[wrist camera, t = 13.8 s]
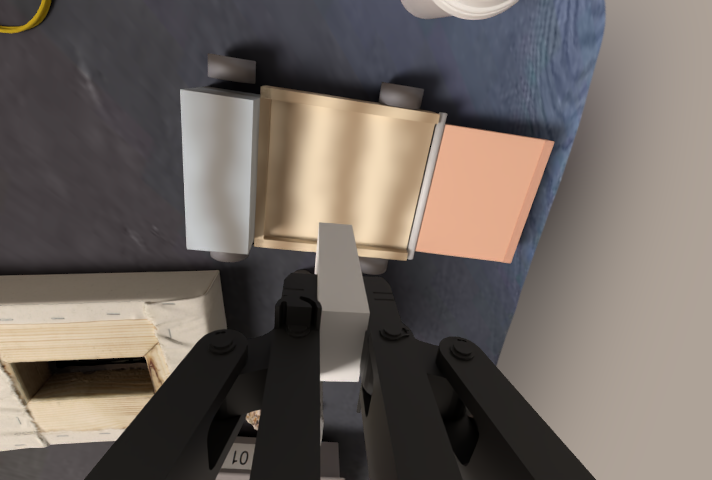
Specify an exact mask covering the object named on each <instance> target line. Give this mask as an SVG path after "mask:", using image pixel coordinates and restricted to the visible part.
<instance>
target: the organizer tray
mask: <svg viewBox="0 0 712 480" xmlns="http://www.w3.org/2000/svg"><path fill="white" fill-rule="evenodd" d="M255 443H256V438H254V437H238V436H237V437H236V439H235V441H234V443H233V445H232V447H231V449H230V451H229V453H228V455H227V457H226V459H225V461H224V463H223V465H222V467H221V469H220V471H219V473H218V475H217V477H216V479H215V480H249V479H250V473H251V467H252V461H253V455H254V449H255ZM320 480H345V478H340V470H339V450H338V443H336V442H321V447H320Z"/></svg>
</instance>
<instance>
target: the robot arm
mask: <svg viewBox="0 0 712 480" xmlns="http://www.w3.org/2000/svg"><path fill="white" fill-rule="evenodd" d="M360 373H361V380H362V383H361V388H360V394H359V400H358V406H357V413H360V410H361V411H362V420H363V428H364V437H365V445H366V454H367V462H368V471H369V479H370V480H596V479H595V478H594V477H593V476H592V475H591V473H590V472H589V471H588V470H587V469H586V468H585V467H584V465H582V463H581V462H580V461H579V460H578V459H577V458H576V456H575V455H574V454H573V453H572V452H571V451H570V450H569V449H568V447H567V446H566V445H565V444H564V443H563V442H562V441H561V439H560V438H559V437H558V436H557V435H556V434H555V433H554V432H553V430H552V429H551V428H550V427H549V426H548V425H547V424H546V422H545V421H544V420H543V419H542V418H541V417H540V416H539V415H538V413H537V412H536V411H535V410H534V409H533V408H532V407H531V406H530V404H529V403H528V402H527V401H526V400H525V399H524V398H523V396H522V395H521V394H520V393H519V392H518V391H517V390H516V389H515V387H514V386H513V385H512V384H511V383H510V382H509V381H508V379H507V378H506V377H505V376H504V375H503V374H502V373H501V371H500V370H499V369H498V368H497V367H496V366H495V365H494V364H493V362H492V361H491V360H490V359H489V358H488V357H487V356H486V354H485V353H484V352H483V351H482V350H481V349H480V348H479V347H478V346H477V345H476V344H474V343H473V342H471V341H469V340H467V339H464V338H460V337H447V338H444V339H443V340H442V341H441V342H440V344H439V346H436V345H432V344H429V343H425V342H422V341H419V340H417V339H415V338H414V336H413V333H412V332H411V330H410V329H409V328H408V327H407V326H405V325H404V324H402V322H401V319H400V315H399V312H398V309H397V306H396V303H395V301H394V297H393V295H392V290H391V287H390V285H389V284H388V283H387V282H386V281H385V280H384V279H383V278H382V277H369V276H362V272H361V267H360V262H359V257H358V252H357V247H356V242H355V237H354V232H353V227H352V225H347V224H335V223H322V222H319V228H318V240H317V251H316V263H315V274H303V273H291V274H290V275H289V276H288V277H287V278H286V279H285V280H284V286H283V292H282V298H281V299H280V300H278V302H277V303H276V305H275V328H274V329H273V330H272V331H270V332H269V333H267V334H265V335H263V336H260V337H256V338H251V339H246V337H245V336H244V335H243V334H242V333H241V332H238V331H236V330H233V329H221V330H215V331H212V332H210V333H208V334H205V335H204V336H203V337H202V338H201V339H200V340H199V341H198V342H197V343H196V344H195V345H194V347H193V348H192V349H191V350H190V351H189V353H188V354H187V355H186V356H185V358H184V359H183V360H182V361H181V362H180V364H179V365H178V366H177V367H176V369H175V370H174V371H173V372H172V373H171V375H170V376H169V377H168V378H167V379H166V381H165V382H164V383H163V384H162V386H161V387H160V388H159V389H158V390H157V392H156V393H155V394H154V395H153V396H152V398H151V399H150V400H149V401H148V403H147V404H146V405H145V406H144V407H143V409H142V410H141V411H140V412H139V414H138V415H137V416H136V417H135V418H134V420H133V421H132V422H131V423H130V424H129V426H128V427H127V428H126V429H125V431H124V432H123V433H122V434H121V435H120V437H119V438H118V439H117V440H116V441H115V443H114V444H113V445H112V446H111V448H110V449H109V450H108V451H107V452H106V454H105V455H104V456H103V457H102V459H101V460H100V461H99V462H98V463H97V465H96V466H95V467H94V468H93V469H92V471H91V472H90V473H89V474H88V476H87V477H86V478H85V479H84V480H215V479H216V477H217V475H218V473H219V471H220V469H221V467H222V465H223V463H224V461H225V459H226V457H227V455H228V453H229V451H230V449H231V447H232V445H233V443H234V441H235V439H236V437H237V435H238V433H239V431H240V429H241V427H242V425H243V423H244V421H245V419H246V416H247V413H250V412H253V411H257V410H260V409H261V413H260V419H259V425H258V431H257V437H256V443H255V449H254V455H253V461H252V467H251V473H250V479H249V480H320V381H348V382H358V380H359V374H360Z"/></svg>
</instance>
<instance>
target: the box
mask: <svg viewBox="0 0 712 480" xmlns="http://www.w3.org/2000/svg"><path fill="white" fill-rule="evenodd" d="M221 329H227V324H226V317H225V310H224V303H223V296H222V289H221V281H220V271H219V270H210V271H178V272H135V273H93V274H51V275H5V276H0V451H6V450H14V449H22V448H43V447H47V446H49V445H51V444H66V443H82V442H100V441H116V440H117V439H118V438H119V437H120V435H121V434H122V433H123V432H124V431H125V429H126V428H127V427H128V426H129V424H130V423H131V422H132V421H133V420H134V418H135V417H136V416H137V415H138V414H139V412H140V411H141V410H142V409H143V407H144V406H145V405H146V404H147V403H148V401H149V400H150V399H151V398H152V396H153V395H154V394H155V393H156V392H157V390H158V389H159V388H160V387H161V386H162V384H163V383H164V382H165V381H166V379H167V378H168V377H169V376H170V375H171V373H172V372H173V371H174V370H175V369H176V367H177V366H178V365H179V364H180V362H181V361H182V360H183V359H184V358H185V356H186V355H187V354H188V353H189V351H190V350H191V349H192V348H193V347H194V345H195V344H196V343H197V342H198V341H199V340H200V339H201V338H202V337H203V336H204V335H205V334H208V333H210V332H212V331H215V330H221ZM127 357H145V358H146V361H147V363H134V364H106V365H96V366H67V367H65V368H57V367H56V362H55V361H58V360H71V361H75V360H79V359H105V358H127ZM141 359H143V358H141ZM141 359H135V360H141ZM124 361H127V360H122V361H113V363H114V362H124ZM76 362H81V361H76ZM84 363H99V362H84ZM82 365H83V364H82Z"/></svg>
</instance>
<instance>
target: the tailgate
mask: <svg viewBox="0 0 712 480" xmlns="http://www.w3.org/2000/svg"><path fill="white" fill-rule="evenodd" d="M439 114H440V117H439V122H438V124H436V127H435V132H434V136H433V140H432V145H431V149H430V153H429V158H428V162H427V166H426V171H425V175H424V180H423V184H422V188H421V193H420V197H419V201H418V206H417V210H416V214H415V219H414V223H413V227H412V232H411V236H410V241H409V245H408V249H407V252H408V256H407V259H410V260H411V259H413V256H414V252H415V251H419V252H427V253H435V254H443V255H451V256H459V257H467V258H475V259H483V260H491V261H499V262H504V263H511V261H512V258H513V255H514V253H515V250H516V247H517V244H518V242H519V239H520V236H521V233H522V231H523V228H524V225H525V222H526V220H527V217H528V214H529V211H530V209H531V206H532V203H533V200H534V197H535V195H536V192H537V189H538V186H539V184H540V181H541V178H542V175H543V173H544V170H545V167H546V164H547V162H548V159H549V156H550V153H551V151H552V148H553V145H554V141H550V140H547V139H541V138H533V137H527V136H520V135H514V134H507V133H501V132H495V131H488V130H482V129H476V128H469V127H463V126H457V125H450V124H445V122H446V118H447V113H442V112H439Z"/></svg>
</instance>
